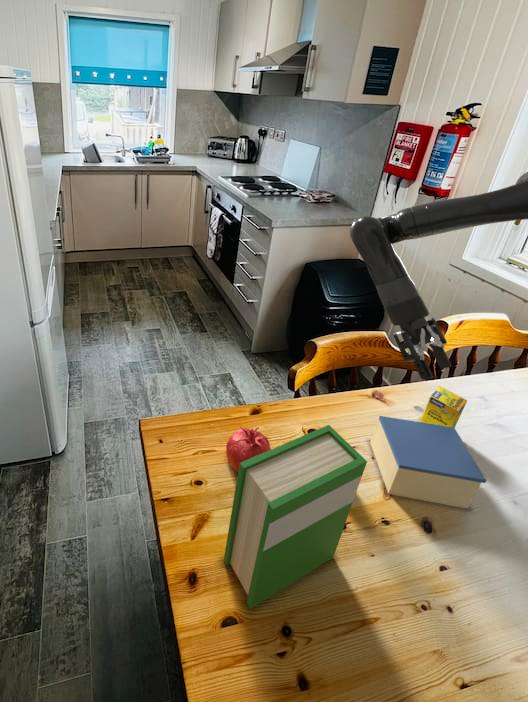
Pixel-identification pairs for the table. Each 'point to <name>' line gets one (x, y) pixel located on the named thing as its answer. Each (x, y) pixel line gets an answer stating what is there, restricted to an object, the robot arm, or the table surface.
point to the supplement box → (443, 408)
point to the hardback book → (291, 510)
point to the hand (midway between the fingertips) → (437, 373)
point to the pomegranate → (245, 446)
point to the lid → (430, 449)
